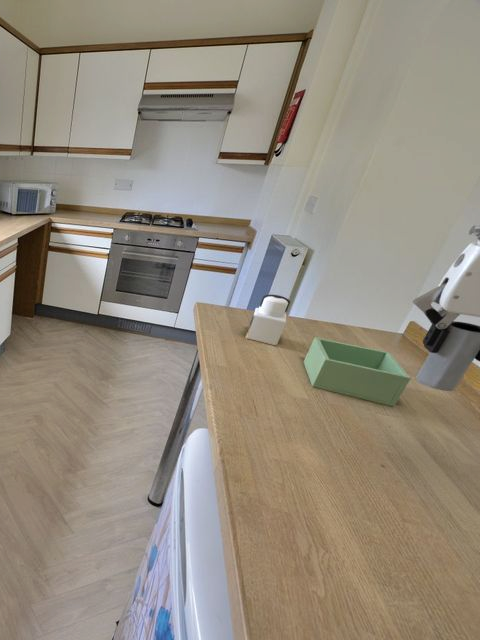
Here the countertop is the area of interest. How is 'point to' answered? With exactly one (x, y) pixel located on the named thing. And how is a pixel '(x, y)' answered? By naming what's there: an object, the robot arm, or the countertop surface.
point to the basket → (355, 371)
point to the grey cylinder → (451, 357)
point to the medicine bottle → (268, 320)
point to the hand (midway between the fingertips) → (453, 352)
